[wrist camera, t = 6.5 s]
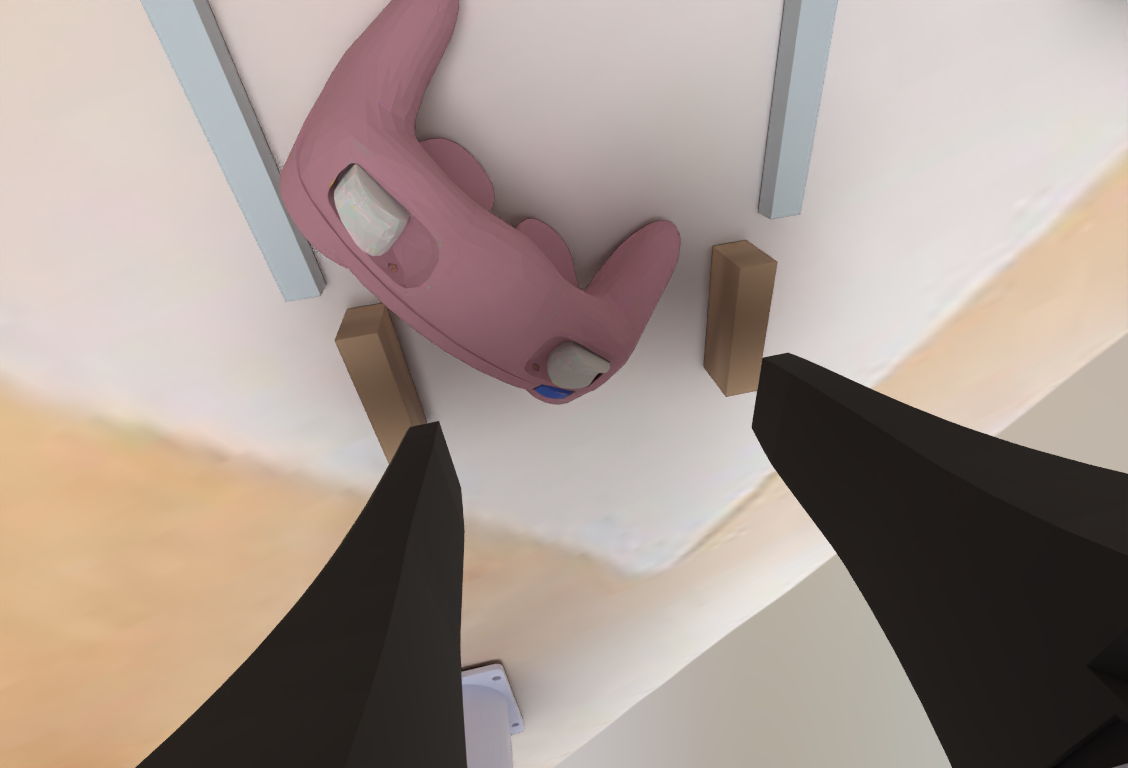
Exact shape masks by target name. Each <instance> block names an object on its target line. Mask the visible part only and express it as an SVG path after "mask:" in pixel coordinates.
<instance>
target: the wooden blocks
mask: <svg viewBox="0 0 1128 768" xmlns="http://www.w3.org/2000/svg"><path fill="white" fill-rule="evenodd" d="M776 268H777V261H776V260H774V259H773V258H771V257H770V256H768V255H767V254H766V253H764V252H763V251H761V250H760V249H758V248H757V247H756V246H754V245H753V244H751V243H750V242H749V241H747V240H745V241H739V242H733V243H727V244H721V245H716V246H713V253H712V266H711V279H710V292H709V305H708V318H707V332H706V345H705V358H704V368H705V370H706V371H707V372H708V374H709V375H710V376H711V378H712V379H713V380H714V382H715V383H716V384H717V386H718V387H719V388H720V390H721V391H722V392H723V394H724V395H725V396H726V397H728V396H733V395H738V394H743V393H748V392H753V391H757V388H758V382H759V375H760V369H761V363H762V356H763V350H764V344H765V337H766V331H767V325H768V318H769V312H770V306H771V299H772V293H773V287H774V280H775V274H776ZM335 343H336V345H337V347H338V349H339V352H340V354H341V356H342V358H343V361H344V363H345V365H346V368H347V370H348V372H349V374H350V377H351V379H352V381H353V383H354V386H355V388H356V390H357V393H358V395H359V397H360V399H361V402H362V404H363V406H364V408H365V411H366V413H367V415H368V418H369V420H370V422H371V424H372V427H373V429H374V431H375V433H376V436H377V438H378V440H379V443H380V445H381V447H382V449H383V452H384V454H385V456H386V458H387V461H388V463H389V464H390V462H391V460H392V458H393V456H394V454H395V452H396V451H397V449H398V447H399V445H400V443H401V441H402V439H403V437H404V435H405V433H406V431H407V430H408V429H409V427H412V426H417V425H422V424H426V423H427V421H426V418H425V415H424V412H423V410H422V407H421V404H420V401H419V398H418V395H417V392H416V390H415V387H414V384H413V381H412V378H411V375H410V373H409V370H408V367H407V364H406V361H405V358H404V356H403V353H402V350H401V347H400V344H399V341H398V338H397V336H396V333H395V330H394V327H393V324H392V321H391V319H390V316H389V313H388V310H387V307H386V306H385V305H384V304H383V303H380V304H375V305H369V306H363V307H357V308H352V309H347V310H346V313H345V315H344V318H343V320H342V323H341V326H340V328H339V331H338V333H337V336H336V338H335Z"/></svg>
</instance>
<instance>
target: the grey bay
mask: <svg viewBox="0 0 1128 768" xmlns="http://www.w3.org/2000/svg"><path fill="white" fill-rule="evenodd" d="M140 1H141V3H142V5H143V7H144V9H145V11H146V13H147V15H148V17H149V20H150V22H151V24H152V26H153V28H154V30H155V32H156V34H157V36H158V38H159V40H160V42H161V44H162V46H163V49H164V51H165V53H166V55H167V57H168V59H169V61H170V63H171V65H172V67H173V69H174V71H175V73H176V76H177V78H178V80H179V82H180V84H181V86H182V88H183V90H184V92H185V94H186V96H187V98H188V100H189V102H190V105H191V107H192V109H193V111H194V113H195V115H196V117H197V119H198V121H199V123H200V125H201V127H202V129H203V132H204V134H205V136H206V138H207V140H208V142H209V144H210V146H211V148H212V150H213V152H214V154H215V156H216V158H217V161H218V163H219V165H220V167H221V169H222V171H223V173H224V175H225V177H226V179H227V181H228V183H229V185H230V188H231V190H232V192H233V194H234V196H235V198H236V200H237V202H238V204H239V206H240V208H241V210H242V212H243V215H244V217H245V219H246V221H247V223H248V225H249V227H250V229H251V231H252V233H253V235H254V237H255V239H256V241H257V244H258V246H259V248H260V250H261V252H262V254H263V256H264V258H265V260H266V262H267V264H268V266H269V268H270V271H271V273H272V275H273V277H274V279H275V281H276V283H277V285H278V287H279V289H280V291H281V293H282V295H283V297H284V300H285V302H288V301H294V300H300V299H306V298H311V297H317V296H321V294H322V292H323V290H324V288H325V286H326V283H325V281H324V278H323V276H322V274H321V271H320V269H319V266H318V264H317V262H316V259H315V257H314V254H313V252H312V250H311V247H310V245H309V243H308V240H307V239H306V238H305V237H304V236H303V234H302V233H301V232H300V230H299V229H298V227H297V226H296V224H295V223H294V221H293V219H292V218H291V216H290V215H289V213H288V211H287V209H286V207H285V204H284V202H283V199H282V197H281V191H280V173H279V171H278V169H277V166H276V164H275V161H274V159H273V157H272V154H271V152H270V149H269V147H268V145H267V142H266V140H265V138H264V135H263V133H262V130H261V128H260V126H259V123H258V121H257V118H256V116H255V114H254V111H253V109H252V107H251V104H250V102H249V99H248V97H247V95H246V92H245V90H244V87H243V85H242V83H241V80H240V78H239V76H238V73H237V71H236V68H235V66H234V64H233V61H232V59H231V56H230V54H229V52H228V49H227V47H226V45H225V42H224V40H223V37H222V35H221V33H220V30H219V28H218V25H217V23H216V21H215V18H214V16H213V13H212V11H211V9H210V6H209V4H208V2H207V0H140ZM837 3H838V0H785V4H784V12H783V20H782V28H781V36H780V44H779V52H778V60H777V68H776V76H775V84H774V92H773V99H772V107H771V115H770V123H769V131H768V139H767V147H766V155H765V163H764V171H763V179H762V187H761V195H760V202H759V210H758V212H759V213H761V214H762V215H764V216H766V217H767V218H769V219H776V218H782V217H788V216H794V215H800V213H801V208H802V202H803V196H804V191H805V185H806V179H807V174H808V168H809V162H810V156H811V151H812V145H813V139H814V134H815V128H816V122H817V117H818V111H819V105H820V100H821V94H822V88H823V83H824V77H825V71H826V66H827V60H828V54H829V49H830V43H831V37H832V32H833V26H834V20H835V15H836V9H837Z"/></svg>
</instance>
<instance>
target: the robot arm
mask: <svg viewBox="0 0 1128 768" xmlns="http://www.w3.org/2000/svg"><path fill="white" fill-rule="evenodd" d="M752 429H753V431H754V433H755V435H756V437H757V439H758V441H759V443H760V445H761V447H762V448H763V450H764V452H765V454H766V455H767V457H768V459H769V461H770V462H771V464H772V466H773V467H774V469H775V470H776V471H777V473H778V474H779V476H780V477H781V478H782V480H783V481H784V482H785V484H786V485H787V486H788V488H789V489H790V491H791V492H792V493H793V495H794V496H795V497H796V499H797V500H798V501H799V503H800V504H801V505H802V507H803V508H804V509H805V511H806V512H807V513H808V515H809V516H810V517H811V519H812V520H813V521H814V523H815V524H816V525H817V527H818V528H819V529H820V531H821V532H822V533H823V535H824V536H825V537H826V539H827V540H828V541H829V543H830V544H831V546H832V547H833V548H834V550H835V551H836V553H837V554H838V556H839V557H840V559H841V560H842V562H843V563H844V565H845V566H846V568H847V569H848V571H849V573H850V575H851V576H852V578H853V580H854V581H855V583H856V585H857V586H858V588H859V590H860V591H861V593H862V595H863V596H864V598H865V600H866V601H867V603H868V605H869V606H870V608H871V610H872V612H873V614H874V615H875V617H876V619H877V620H878V623H879V624H880V626H881V628H882V629H883V631H884V633H885V635H886V637H887V639H888V640H889V642H890V644H891V646H892V647H893V649H894V651H895V653H896V655H897V657H898V659H899V661H900V663H901V664H902V667H903V668H904V670H905V672H906V674H907V676H908V678H909V680H910V682H911V684H912V686H913V688H914V690H915V692H916V693H917V695H918V697H919V699H920V701H921V703H922V705H923V707H924V709H925V711H926V713H927V716H928V718H929V720H930V722H931V724H932V726H933V728H934V730H935V732H936V734H937V736H938V739H939V740H940V743H941V745H942V747H943V749H944V751H945V753H946V755H947V757H948V759H949V762H950V764H951V766H952V768H1128V474H1126V473H1122V472H1118V471H1113V470H1110V469H1106V468H1102V467H1097V466H1093V465H1089V464H1086V463H1082V462H1078V461H1075V460H1071V459H1067V458H1063V457H1060V456H1056V455H1052V454H1049V453H1045V452H1041V451H1038V450H1034V449H1031V448H1028V447H1024V446H1021V445H1018V444H1014V443H1011V442H1008V441H1005V440H1002V439H999V438H996V437H993V436H990V435H987V434H984V433H981V432H978V431H975V430H972V429H969V428H966V427H963V426H961V425H958V424H955V423H952V422H950V421H947V420H944V419H942V418H939V417H937V416H934V415H932V414H929V413H927V412H924V411H922V410H919V409H917V408H914V407H912V406H909V405H907V404H905V403H902V402H900V401H897V400H895V399H893V398H890V397H888V396H886V395H884V394H881V393H879V392H877V391H875V390H872V389H870V388H868V387H866V386H863V385H861V384H859V383H857V382H855V381H852V380H850V379H848V378H846V377H844V376H841V375H839V374H837V373H835V372H833V371H830V370H828V369H826V368H824V367H822V366H819V365H817V364H815V363H813V362H810V361H808V360H806V359H803V358H801V357H798V356H796V355H793V354H790V353H784V354H779V355H774V356H769V357H764V358H762V364H761V370H760V376H759V383H758V389H757V396H756V402H755V409H754V415H753V422H752ZM463 558H464V518H463V505H462V494H461V486H460V483H459V480H458V477H457V474H456V471H455V468H454V465H453V462H452V459H451V456H450V453H449V450H448V447H447V444H446V441H445V438H444V435H443V432H442V429H441V426H440V423H439V421H437V422H432V423H427V424H422V425H417V426H412V427H409V429H408V430H407V431H406V433H405V435H404V437H403V439H402V441H401V443H400V445H399V447H398V449H397V451H396V452H395V454H394V456H393V458H392V460H391V462H390V464H389V466H388V467H387V469H386V471H385V473H384V475H383V477H382V478H381V480H380V482H379V483H378V485H377V487H376V489H375V490H374V492H373V494H372V495H371V497H370V499H369V501H368V502H367V504H366V506H365V507H364V509H363V511H362V512H361V514H360V515H359V517H358V518H357V520H356V521H355V523H354V524H353V526H352V527H351V529H350V531H349V532H348V534H347V535H346V537H345V538H344V540H343V541H342V543H341V544H340V546H339V547H338V549H337V550H336V551H335V553H334V554H333V556H332V557H331V558H330V560H329V561H328V563H327V564H326V565H325V567H324V568H323V569H322V571H321V572H320V573H319V575H318V576H317V577H316V579H315V580H314V581H313V583H312V584H311V585H310V586H309V588H308V589H307V590H306V592H305V593H304V594H303V595H302V597H301V598H300V599H299V600H298V602H297V603H296V604H295V605H294V606H293V607H292V609H291V610H290V611H289V612H288V613H287V615H286V616H285V617H284V618H283V619H282V620H281V622H280V623H279V624H278V625H277V626H276V627H275V628H274V630H273V631H272V632H271V633H270V634H269V635H268V636H267V638H266V639H265V640H264V641H263V642H262V643H261V644H260V645H259V647H258V648H257V649H256V650H255V651H254V652H253V653H252V654H251V655H250V657H249V658H248V659H247V660H246V661H245V662H244V663H243V664H242V665H241V666H240V667H239V668H238V669H237V670H236V671H235V672H234V673H233V674H232V675H231V676H230V677H229V679H228V680H227V681H226V682H225V683H224V684H223V685H222V686H221V687H220V688H219V689H218V690H217V691H216V692H215V693H214V694H213V695H212V696H211V697H210V698H209V699H208V700H207V701H206V702H205V703H204V704H203V705H202V706H201V707H200V708H199V709H198V710H197V711H196V712H195V713H194V714H193V715H192V716H191V717H189V718H188V719H187V720H186V721H185V722H184V723H183V724H182V725H181V726H180V727H179V728H178V729H177V730H176V731H175V732H174V733H173V734H172V735H171V736H170V737H168V738H167V739H166V740H165V741H164V742H163V743H162V744H161V745H160V746H159V747H157V748H156V749H155V750H154V751H153V752H152V753H151V754H150V755H149V756H148V757H147V758H145V759H144V760H143V761H142V762H141V763H140V764H139V765H138V766H137V767H136V768H513V756H512V744H511V735H513V734H517V733H520V732H522V731H524V729H525V726H524V721H523V719H522V716H521V713H520V711H519V708H518V705H517V703H516V700H515V698H514V695H513V692H512V690H511V687H510V684H509V682H508V679H507V676H506V674H505V671H504V668H503V666H502V665H500V664H492V665H488V666H483V667H479V668H475V669H471V670H467V671H463V672H461V656H460V630H461V607H462V583H463Z"/></svg>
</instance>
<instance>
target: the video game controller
mask: <svg viewBox="0 0 1128 768" xmlns="http://www.w3.org/2000/svg"><path fill="white" fill-rule="evenodd" d="M458 10H459V0H392V1H391V2H390V3H389V4H388V5H387V7H386V8H385V9H384V10H383V11H382V12H381V13H380V14H379V15H378V17H377V18H376V19H375V20H374V21H373V22H372V23H371V24H370V26H369V27H368V28H367V29H366V30H365V31H364V32H363V33H362V34H361V36H360V37H359V38H358V39H357V40H356V41H355V42H354V43H353V44H352V46H351V47H350V48H349V49H348V50H347V51H346V52H345V54H344V56H343V57H342V59H341V60H340V62H339V63H338V65H337V66H336V68H335V69H334V71H333V72H332V74H331V76H330V77H329V79H328V81H327V82H326V84H325V87H324V89H323V91H322V92H321V94H320V96H319V97H318V99H317V101H316V103H315V104H314V106H313V108H312V110H311V111H310V113H309V115H308V117H307V118H306V120H305V122H304V124H303V127H302V129H301V131H300V133H299V135H298V137H297V139H296V141H295V143H294V146H293V148H292V150H291V152H290V154H289V156H288V159H287V161H286V163H285V165H284V167H283V170H282V172H281V175H280V191H281V197H282V199H283V202H284V204H285V207H286V209H287V211H288V213H289V215H290V216H291V218H292V219H293V221H294V223H295V224H296V226H297V227H298V229H299V230H300V232H301V233H302V234H303V236H304V237H305V238H306V239H307V240H308V241H309V242H310V243H311V244H312V245H313V246H314V247H315V248H316V249H317V250H318V251H320V252H321V253H322V254H323V255H325V256H326V257H327V258H329V259H331V260H332V261H334V262H336V263H337V264H339V265H341V266H343V267H346V268H348V269H349V270H350V271H351V272H352V273H353V274H354V275H355V276H356V277H357V279H358V280H359V281H360V282H361V283H362V284H363V285H364V286H365V287H366V288H367V289H368V290H369V291H370V292H372V293H373V294H374V295H375V296H376V297H377V298H378V299H379V300H380V301H381V302H382V303H383V304H384V305H385V306H387V307H388V308H389V309H390V310H391V311H392V312H393V313H395V314H396V315H397V316H398V317H400V318H401V319H402V320H403V321H405V322H406V323H407V324H409V325H410V326H411V327H412V328H414V329H415V330H416V331H417V332H419V333H420V334H421V335H423V336H424V337H426V338H427V339H428V340H430V341H431V342H433V343H434V344H436V345H437V346H439V347H440V348H441V349H443V350H444V351H446V352H447V353H449V354H451V355H453V356H454V357H456V358H458V359H460V360H461V361H463V362H465V363H466V364H468V365H470V366H472V367H473V368H475V369H477V370H479V371H481V372H483V373H485V374H488V375H490V376H492V377H494V378H496V379H499V380H501V381H503V382H505V383H508V384H510V385H513V386H516V387H519V388H523V389H526V390H527V391H528V392H529V393H530V394H531V395H532V396H534V397H535V398H537V399H539V400H541V401H543V402H546V403H550V404H564V403H568V402H570V401H572V400H574V399H576V398H578V397H580V396H582V395H584V394H586V393H588V392H590V391H593V390H595V389H596V388H598V387H599V386H601V385H602V384H603V383H605V382H606V381H607V380H608V379H609V378H610V377H612V376H613V375H614V374H615V373H616V372H617V371H618V370H619V369H620V368H621V367H622V366H623V365H624V364H625V363H626V361H627V360H628V358H629V357H630V355H631V354H632V352H633V350H634V348H635V346H636V344H637V342H638V340H639V338H640V336H641V334H642V332H643V330H644V328H645V326H646V324H647V322H648V320H649V318H650V316H651V314H652V312H653V310H654V308H655V306H656V304H657V303H658V301H659V299H660V297H661V295H662V293H663V291H664V289H665V287H666V285H667V283H668V282H669V280H670V278H671V276H672V273H673V271H674V269H675V266H676V264H677V261H678V256H679V250H680V243H681V239H680V234H679V232H678V230H677V228H676V226H675V225H674V224H673V223H672V222H670V221H668V220H663V221H656V222H653V223H650V224H648V225H646V226H645V227H644V228H642V229H640V230H639V231H637V232H635V233H634V234H632V235H631V236H630V237H629V238H628V239H627V240H626V241H624V242H623V243H622V244H621V245H620V246H619V247H618V248H617V249H616V250H615V251H614V253H613V254H612V255H611V256H610V257H609V259H608V260H607V261H606V262H605V264H604V265H603V266H602V267H601V268H600V270H599V271H598V272H597V273H596V275H595V276H594V277H593V279H592V280H591V281H590V283H589V284H588V286H587V287H586V288H585V290H582V289H581V288H579V285H578V282H577V279H576V275H575V270H574V265H573V260H572V257H571V254H570V251H569V249H568V247H567V245H566V244H565V242H564V241H563V240H562V238H561V237H560V236H559V234H558V233H556V232H555V231H554V230H553V229H552V228H551V227H549V226H548V225H547V224H545V223H543V222H541V221H539V220H536V219H526V220H524V221H523V222H521V223H520V224H519V225H518V226H517V227H515V228H513V227H512V226H510V225H509V224H507V223H506V222H504V221H503V220H501V219H500V218H498V217H497V216H495V215H493V214H492V213H490V212H489V211H490V210H491V208H492V206H493V203H494V190H493V187H492V184H491V182H490V180H489V178H488V176H487V175H486V173H485V171H484V170H483V168H482V167H481V165H480V164H479V163H478V162H477V161H476V160H475V159H474V157H473V156H472V155H471V154H470V153H469V152H467V151H466V150H465V149H464V148H462V147H461V146H460V145H458V144H457V143H454V142H452V141H450V140H447V139H444V138H438V139H430V140H426V141H421V142H418V140H417V138H416V136H415V123H416V116H417V113H418V110H419V107H420V104H421V101H422V98H423V95H424V92H425V90H426V88H427V86H428V84H429V82H430V80H431V78H432V76H433V74H434V72H435V70H436V68H437V66H438V64H439V62H440V60H441V58H442V56H443V54H444V52H445V49H446V47H447V45H448V43H449V41H450V39H451V37H452V34H453V31H454V27H455V23H456V19H457V14H458Z"/></svg>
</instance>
